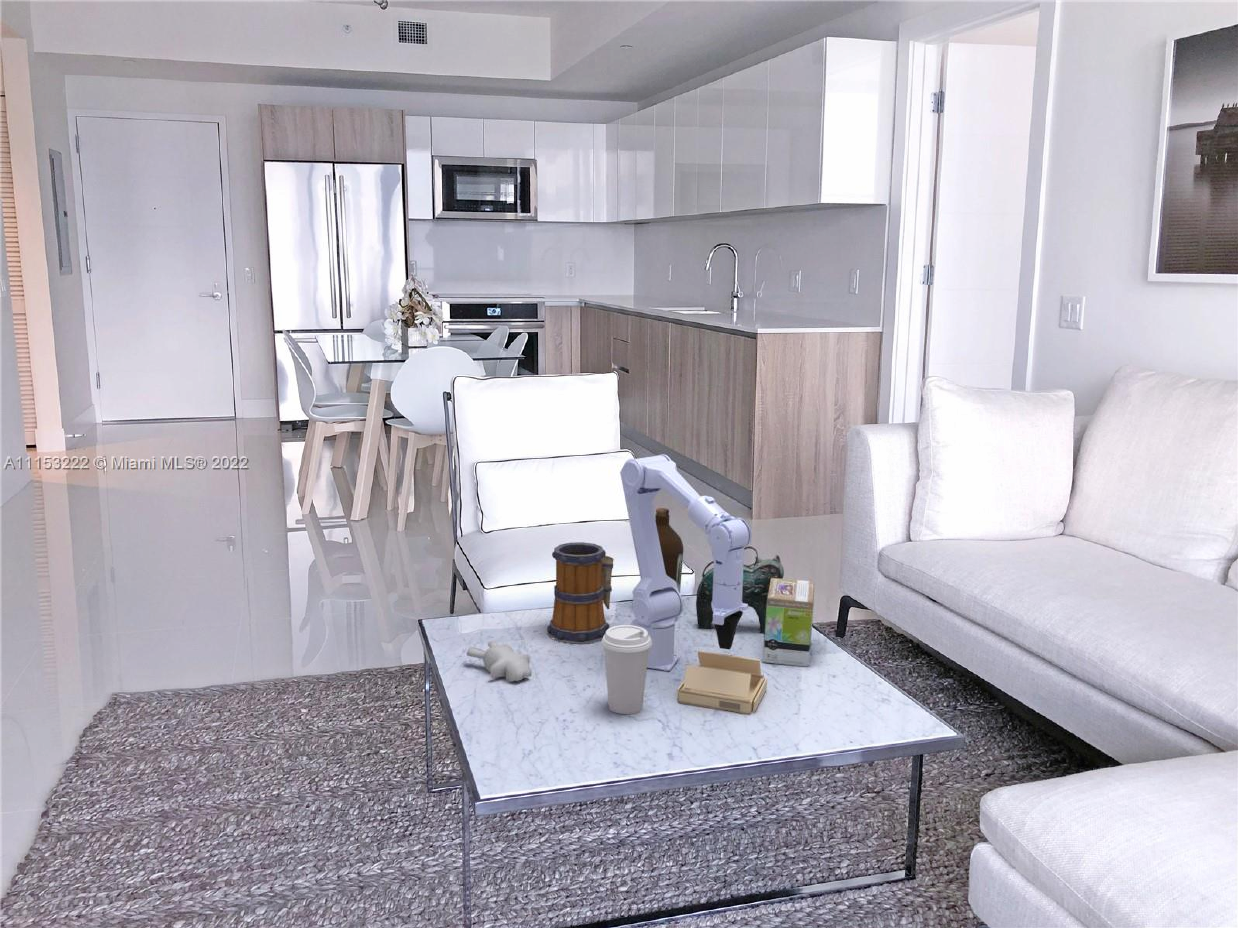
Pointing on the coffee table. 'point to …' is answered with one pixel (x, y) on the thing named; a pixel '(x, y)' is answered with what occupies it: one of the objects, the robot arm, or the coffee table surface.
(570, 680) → the coffee table surface
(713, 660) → the flap far
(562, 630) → the mug
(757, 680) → the carton
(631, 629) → the coffee cup
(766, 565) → the green animal figurine
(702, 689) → the flap near
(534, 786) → the coffee table surface
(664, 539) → the olive oil
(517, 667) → the bunny figurine
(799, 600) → the tea box
